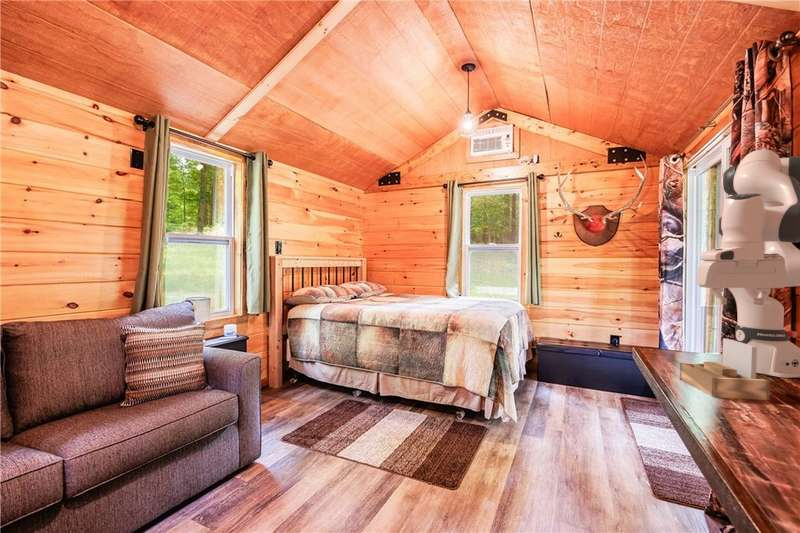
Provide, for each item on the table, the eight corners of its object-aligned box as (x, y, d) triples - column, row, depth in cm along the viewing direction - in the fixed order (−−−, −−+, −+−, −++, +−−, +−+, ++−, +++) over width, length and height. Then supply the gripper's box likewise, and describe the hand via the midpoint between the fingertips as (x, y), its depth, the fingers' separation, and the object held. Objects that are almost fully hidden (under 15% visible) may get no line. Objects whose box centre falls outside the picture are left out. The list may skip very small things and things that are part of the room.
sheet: (726, 383, 106) (727, 338, 106) (755, 396, 96) (757, 347, 96) (721, 383, 107) (723, 338, 106) (750, 396, 97) (751, 347, 96)
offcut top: (717, 370, 105) (717, 362, 105) (736, 378, 98) (737, 369, 98) (703, 370, 106) (703, 361, 106) (722, 378, 99) (722, 369, 99)
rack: (727, 384, 108) (728, 364, 108) (769, 403, 94) (770, 380, 94) (679, 382, 110) (680, 362, 110) (713, 401, 96) (714, 378, 96)
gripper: (774, 253, 102) (772, 303, 103) (693, 253, 105) (692, 302, 105) (795, 253, 96) (793, 306, 97) (709, 254, 98) (708, 305, 99)
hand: (740, 304), depth 101 cm, fingers open, 8 cm apart
